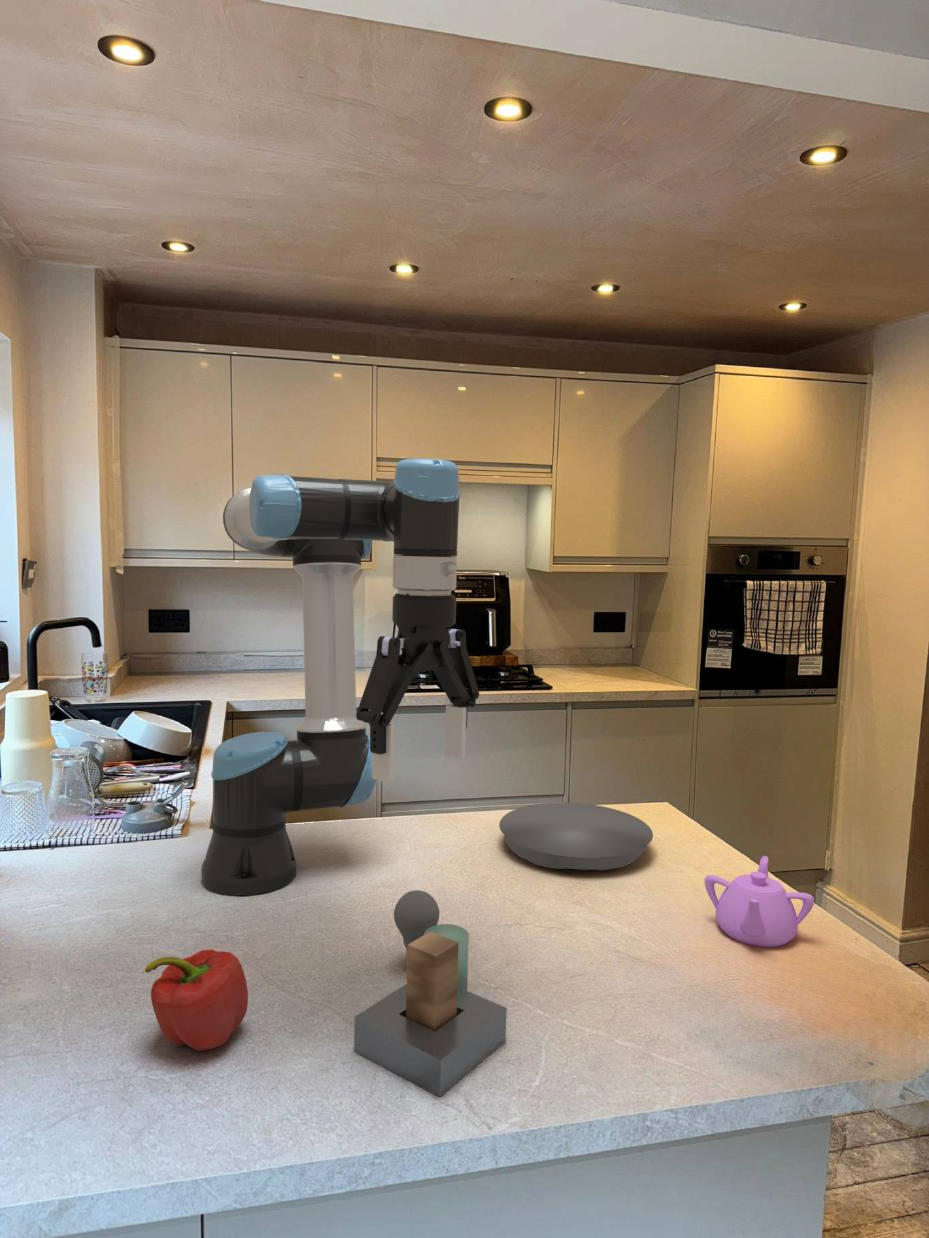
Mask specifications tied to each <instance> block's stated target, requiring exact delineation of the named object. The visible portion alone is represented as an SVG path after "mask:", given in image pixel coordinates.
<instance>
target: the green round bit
mask: <svg viewBox="0 0 929 1238" xmlns="http://www.w3.org/2000/svg"><path fill="white" fill-rule="evenodd" d="M429 932H433V933H436V934H438V935H441V936H443V937H446V938H449V939H451V940H454V941H456V942H459V946H458V983H457V987H459V988H461V989H464V990H466V991H468V976H469V975H468V973H469V944H470V943H469V942H470V941H469V940H470V939H469V937H470V936H469V932H468V931H467V930H466V928H464V927H461V926H459V925H455V924H450V923H447V924H446V923H444V924H443V923H442V924H437V925H435V926H432V927H430V928H428V929H427V930H426V931H425V932H424V935H425V934H427V933H429Z"/></svg>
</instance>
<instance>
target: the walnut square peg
mask: <svg viewBox="0 0 929 1238" xmlns="http://www.w3.org/2000/svg"><path fill="white" fill-rule="evenodd" d="M458 946H459V942H456V941H454V940H451V939H449V938H446V937H443V936H441V935H438V934H436V933H433V932H429V933H427V934H425V935H424V936H422V937H420V938H418V939H417V940H415V941H413V942H412V943H410V944H408V945H407V963H406V984H407V993H406V1018H407V1019H409V1020H412V1021H414V1022H416V1023H418V1024H420V1025H422V1026H424V1027H426V1028H428V1029H430V1030H433V1031H435V1032H436V1031H437V1030H439V1029H440V1028H441V1027H443V1026H444V1025H445V1024H447V1023H448V1022H449V1021H451V1020H452V1019H453V1018H455V1017H456V1016H457V983H458Z"/></svg>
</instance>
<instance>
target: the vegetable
mask: <svg viewBox="0 0 929 1238" xmlns="http://www.w3.org/2000/svg"><path fill="white" fill-rule="evenodd" d="M162 966H166V967H165V969H163V971H162V972H161V975H160V977H158V978H156V979H155V980H154V982H153V983H152V986H151V990H150V999H151V1006H152V1008H153V1012H154V1015H155V1018H156V1021H157V1023H158V1026H159V1028H160V1030H161V1033H162V1034H163V1036H164V1037H165V1039H167V1041H169V1042H171V1043H173V1044H175V1045H178V1046H182V1045H187V1046H188V1047H189V1048H191V1049H194V1050H195V1051H197V1052H198V1051H200V1052H201V1051H208V1050H211V1049H215V1048H217V1047H220V1046H222V1045H224V1043H226V1042H227V1041H228V1039H229V1038H230V1036H231V1034H232V1032H233V1031H234V1030H236V1029H237V1028H239V1027H240V1025H241V1024H242V1022H243V1020H244V1018H245V1016H246V1013H247V1011H248V1010H247V1009H248V1004H249V1003H248V1002H249V1001H248V999H249V992H248V983H247V980H246V976H245V972H244V969H243V966H242V964H241V962H240V960H239V959H238V957H236V955H235V954H234V953H232V952H229V951H225V950H224V951H222V950H220V951H219V950H217V951H216V950H215V949H201V950H200V951H198V952H196V953H195V954H192V955H190V956H187V957H185V958H180V957H176V956H168V957H166V956H164V957H160V958H157V959H154V960H153V961H151V962H150V963H149V964H147V966H146V967H145V969H144V972H146V973H150V972H152V971H156V970H157V968H159V967H162Z"/></svg>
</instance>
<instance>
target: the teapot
mask: <svg viewBox="0 0 929 1238" xmlns="http://www.w3.org/2000/svg"><path fill="white" fill-rule="evenodd" d="M759 860H760V861H759V865H758V869H757V871H752V872H750V874H741V875H738V876H736V877H735V878H734V879H733V880H732V881H729V880H726V879H724V878H722V877H719V876H717V875H713V874H707V875H706V876H705V877H704V886H705V889H706V893H707V895H708V896H709V899H710V901H711V903H712V904H713V906H714V908H715V920H716V922H717V924H718V925H719V927H720V928H721V929H722V931H723V932H724V933H725V934H726V935H727V936H728V937H730V938H731V939H734V940H735V941H737V942H739V943H743V944H746V945H750V946H754V947H760V948H777V947H780V946H784V945H785V944H787V943H788V942H790V941H792V940H793V939H794V937H795V936H797V933H798V929H799V924H801V923H802V921H804V920H805V918H806V917H807V916H808V915H809V914H810V912H811V911H812V909H813V907H814V903H815V898H814V896H813V895H811V894H810V893H807V892H787V891H786V890H785V888H784V886H783V885H782V884H781V883H780V882H779V881H777V880H775V879H774V878H771V877H769V857H768V856H766V855H763V856H762V857H761V858H760V859H759ZM715 884H718V885H721V886H723V887H725V889H724V891H723V892H722V894H721V895H720V897H719V899H718V897H717V893H716V890H715ZM792 900H801V901H802V907H801V910H800V912H799V913H798V915H797V913H796V909H795V905H794V903H793V902H792Z"/></svg>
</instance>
